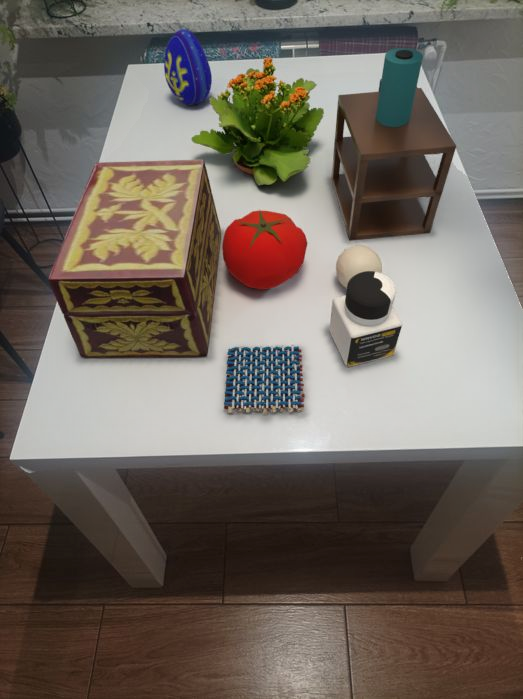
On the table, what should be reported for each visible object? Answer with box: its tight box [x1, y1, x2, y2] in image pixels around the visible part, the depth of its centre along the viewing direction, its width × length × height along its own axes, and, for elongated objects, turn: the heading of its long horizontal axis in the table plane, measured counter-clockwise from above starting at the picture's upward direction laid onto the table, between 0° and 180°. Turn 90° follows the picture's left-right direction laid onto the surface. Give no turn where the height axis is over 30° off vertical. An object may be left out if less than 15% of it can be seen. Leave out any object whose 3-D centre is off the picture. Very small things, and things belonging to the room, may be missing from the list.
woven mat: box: [223, 344, 306, 416], centre depth 64 cm, size 10×11×2 cm
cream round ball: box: [335, 244, 383, 289], centre depth 73 cm, size 7×7×7 cm
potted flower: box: [191, 57, 325, 187], centre depth 90 cm, size 25×24×18 cm
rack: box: [331, 87, 457, 241], centre depth 80 cm, size 14×18×16 cm
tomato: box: [221, 209, 308, 290], centre depth 73 cm, size 13×12×11 cm
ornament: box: [163, 28, 213, 106], centre depth 107 cm, size 11×9×15 cm
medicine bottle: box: [329, 271, 403, 368], centre depth 63 cm, size 7×7×12 cm
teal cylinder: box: [376, 47, 424, 127], centre depth 70 cm, size 5×5×9 cm
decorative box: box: [48, 159, 222, 359], centre depth 70 cm, size 28×19×15 cm
